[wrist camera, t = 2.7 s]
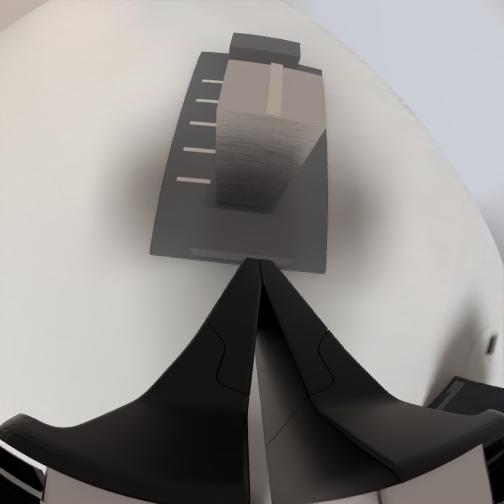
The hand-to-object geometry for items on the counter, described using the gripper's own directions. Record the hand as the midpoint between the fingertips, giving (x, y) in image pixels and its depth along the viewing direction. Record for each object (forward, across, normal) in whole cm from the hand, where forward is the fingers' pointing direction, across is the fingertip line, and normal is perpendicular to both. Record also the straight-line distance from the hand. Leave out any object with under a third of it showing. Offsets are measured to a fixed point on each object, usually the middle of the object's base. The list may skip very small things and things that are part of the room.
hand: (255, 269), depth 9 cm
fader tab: (+12, 0, +2) cm, 12 cm away
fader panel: (+15, 0, -1) cm, 15 cm away
